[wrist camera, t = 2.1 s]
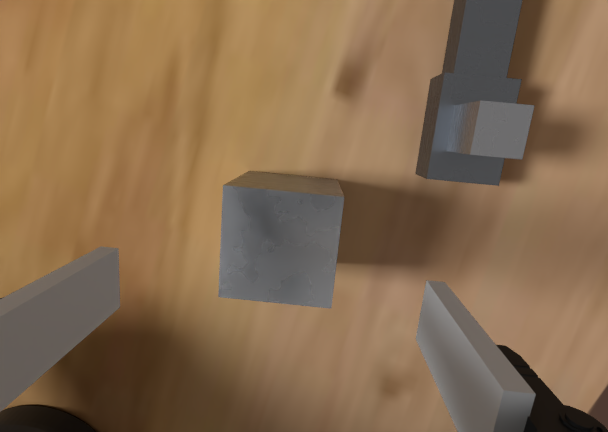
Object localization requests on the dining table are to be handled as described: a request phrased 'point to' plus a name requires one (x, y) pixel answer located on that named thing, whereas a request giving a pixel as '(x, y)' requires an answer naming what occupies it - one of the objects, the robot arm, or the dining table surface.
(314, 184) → the grey stone cube
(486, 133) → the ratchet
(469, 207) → the dining table surface
